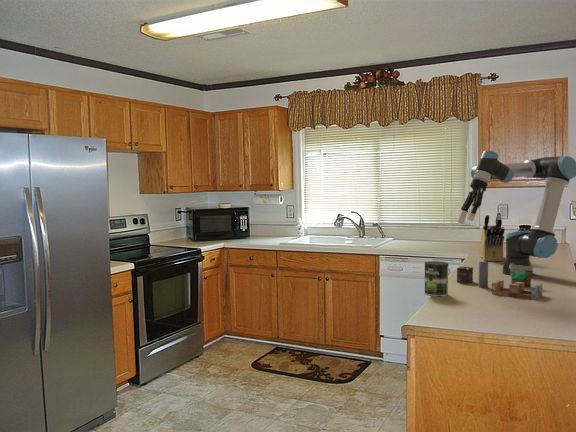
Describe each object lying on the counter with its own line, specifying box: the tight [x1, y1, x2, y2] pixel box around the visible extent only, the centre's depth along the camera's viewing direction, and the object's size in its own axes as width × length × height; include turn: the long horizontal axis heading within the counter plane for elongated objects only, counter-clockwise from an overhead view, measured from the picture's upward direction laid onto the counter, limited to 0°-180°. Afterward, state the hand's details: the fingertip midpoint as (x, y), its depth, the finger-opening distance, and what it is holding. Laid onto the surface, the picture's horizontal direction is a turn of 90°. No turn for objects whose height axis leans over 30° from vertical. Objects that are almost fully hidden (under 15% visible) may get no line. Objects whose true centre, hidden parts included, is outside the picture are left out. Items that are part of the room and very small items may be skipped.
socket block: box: [491, 279, 543, 300], centre depth 228 cm, size 10×18×5 cm, turn 48°
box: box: [456, 266, 474, 285], centre depth 259 cm, size 6×6×7 cm
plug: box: [478, 260, 489, 289], centre depth 246 cm, size 4×4×12 cm
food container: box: [509, 263, 534, 288], centre depth 249 cm, size 12×6×10 cm, turn 21°
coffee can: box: [424, 260, 450, 297], centre depth 232 cm, size 10×10×14 cm
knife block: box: [478, 211, 506, 262], centre depth 332 cm, size 11×35×31 cm, turn 166°
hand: (464, 221), depth 249 cm, fingers open, 13 cm apart
